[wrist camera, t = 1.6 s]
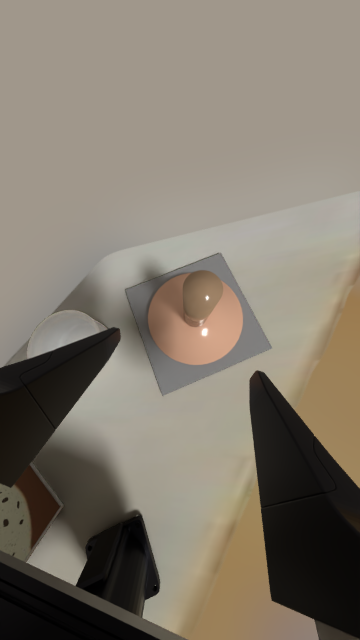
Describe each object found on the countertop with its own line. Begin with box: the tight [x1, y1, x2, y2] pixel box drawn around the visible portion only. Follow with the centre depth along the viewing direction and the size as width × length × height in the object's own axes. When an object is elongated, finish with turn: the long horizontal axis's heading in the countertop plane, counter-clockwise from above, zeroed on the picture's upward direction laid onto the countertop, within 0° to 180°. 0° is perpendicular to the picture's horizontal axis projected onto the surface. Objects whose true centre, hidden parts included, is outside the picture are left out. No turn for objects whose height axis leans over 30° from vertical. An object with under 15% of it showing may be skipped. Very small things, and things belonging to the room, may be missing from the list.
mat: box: [125, 253, 272, 396], centre depth 22 cm, size 16×16×1 cm
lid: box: [148, 270, 243, 365], centre depth 17 cm, size 13×13×10 cm
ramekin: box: [27, 310, 107, 359], centre depth 20 cm, size 9×9×4 cm
